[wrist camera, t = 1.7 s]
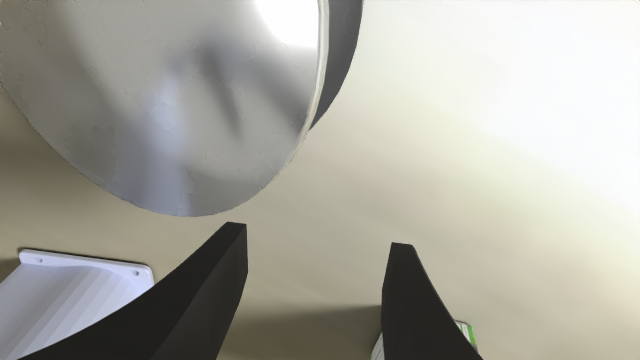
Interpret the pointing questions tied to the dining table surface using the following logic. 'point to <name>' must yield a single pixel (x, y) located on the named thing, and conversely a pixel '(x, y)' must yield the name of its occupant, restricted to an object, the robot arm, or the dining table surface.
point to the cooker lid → (169, 91)
